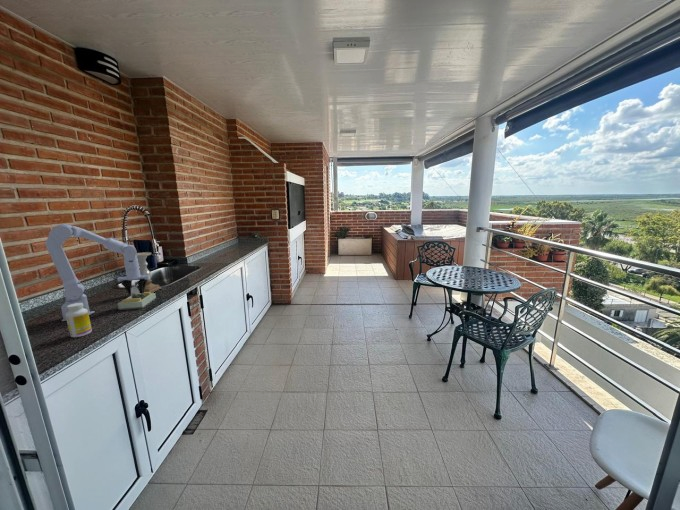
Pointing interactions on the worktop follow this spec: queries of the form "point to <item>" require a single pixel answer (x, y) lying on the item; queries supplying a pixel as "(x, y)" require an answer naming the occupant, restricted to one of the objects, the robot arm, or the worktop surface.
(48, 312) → the worktop surface
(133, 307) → the pale green tray
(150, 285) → the candle holder
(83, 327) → the supplement bottle
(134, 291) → the spout can
